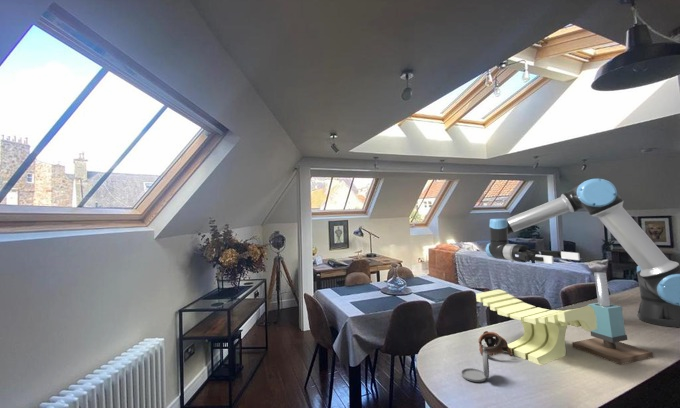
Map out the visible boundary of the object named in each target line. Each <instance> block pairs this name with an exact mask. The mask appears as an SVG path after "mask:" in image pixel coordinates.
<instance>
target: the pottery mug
mask: <svg viewBox="0 0 680 408" xmlns="http://www.w3.org/2000/svg"><path fill="white" fill-rule="evenodd" d="M482 341H484V342H485V351H486V352H487V354H488V356H492V357H493V356H494V355H495V356H496V355H498V354H505V353H507V352H508V354H509V356H510V357H512V356H513V354H511V350H510V349H509V347H508V345H507V344H508V341H507V340H506V339H505V338H504V337H502V336H500V334H498V333H496V332H495V331H488V330H485V331H483V333H482V334H481V335H480V337H479V338H478V344H479V345H478V346H479V349H478V350H479V354H480V355H481V356H482V357H483V346H484V345H483V344H482V343H483V342H482ZM505 351H506V352H505Z"/></svg>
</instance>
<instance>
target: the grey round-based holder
mask: <svg viewBox="0 0 680 408" xmlns="http://www.w3.org/2000/svg"><path fill="white" fill-rule="evenodd" d="M485 346H486V343H484V345H483V356H482V370H483V371H482V370H481V369H478V368H471V367H470V368H463V369H462V370H461V371H460V372H461V376H462V377H463V378H464V379H466V380H467V381H470V382H475V383H482V382H484V381H486V380H487V378H489V377H490V363H489V355H488V354H487V352H486V351H485Z"/></svg>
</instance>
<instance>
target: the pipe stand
mask: <svg viewBox="0 0 680 408" xmlns="http://www.w3.org/2000/svg"><path fill="white" fill-rule="evenodd" d="M593 275H594V283H595V288H596V296H597V297H596V298H597V303H598V306H602V307H611V306H610V304H611V300H610V292H609V285H608V279H607V273H606V272H598V271H597V272H593ZM571 345H572V348H575V349H577V350H580V351H583V352H586V353H588V354H591V355H593V356H597V357H599V358H602V359H604V360H607V361H610V362H613V363H615V364H618V365H624V364H629V363H633V362H637V361H642V360H645V359H650V358H653V357H654V354H653V351H651V350H647V349H644V348H640V347H637V346H634V345H630V344H628V343H624V342H623V341H619V342H615V343H612V342H609V341H606V340H602V339H599V338H596V337H593V338H592V337H591V338H587V339H582V340H578V341H572V342H571Z"/></svg>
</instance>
